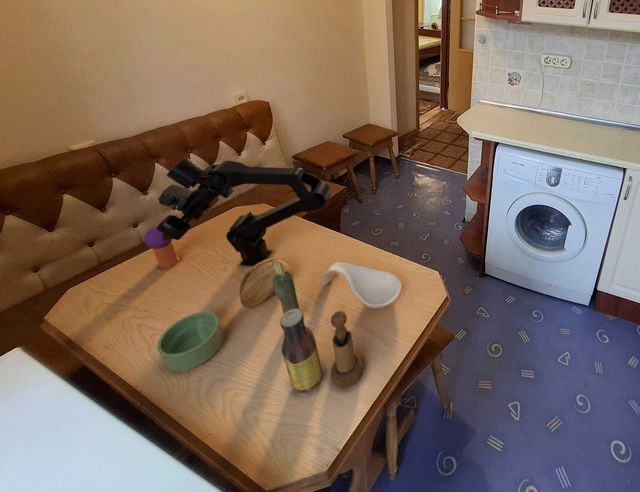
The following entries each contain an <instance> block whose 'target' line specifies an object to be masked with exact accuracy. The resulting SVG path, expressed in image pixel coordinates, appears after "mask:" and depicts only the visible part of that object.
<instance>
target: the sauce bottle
mask: <svg viewBox="0 0 640 492" xmlns="http://www.w3.org/2000/svg"><path fill="white" fill-rule="evenodd" d="M279 323H280V327H281V329H282V330H283V336H284V337H283V341H282V344H281V355H282V358H283V361H284V363H285V367H286V370H287V374H288V377H289V381H290V383H291V386H292V387H293V389H294V390H295V391H296V392H299V393H300V394H301V393H302V394H305V393H308V392H310V391H313V390H314V389H316V388H317V387H318V386H319V384H320V382H321V381H322V378H323V374H324V373H323V365H322V361H321V357H320V352H319V348H318V343H317V340H316V337H315V334H314V332H313V330H312V329H311V328H309V327H308V326H306V324H305V317H304V312H303V311H302V310H301V309H300V308H299V309H291V310H289V311H287V312H286V313H285V314H284V313H283V315H281V317H280V320H279Z"/></svg>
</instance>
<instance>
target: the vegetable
mask: <svg viewBox="0 0 640 492" xmlns="http://www.w3.org/2000/svg"><path fill="white" fill-rule="evenodd" d="M274 264H275V271H276V275H275V276H274V278H273V288H274V293H275V295H276V297H277V299H278V300H279V301H280V304H281V308H282V313H283V315H284V314H285V313H286V312H287V311H289V310H291V309H299V310H300V305H299V301H298V295H297V292H296V287H295V281H294V279H293V275H292V273H291V274H290V273H289V272H287V271H285V269H284V265H283V264H282V263H281V262H278V261H277V260H274V261H272V262H271V265H272V266H273V265H274Z"/></svg>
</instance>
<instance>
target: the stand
mask: <svg viewBox="0 0 640 492" xmlns="http://www.w3.org/2000/svg"><path fill="white" fill-rule="evenodd" d="M151 249H152V252H153V254H154V256H155V259H156V261H157V263H158V266H159V267H160V268H161V269H168V268H170V267H174V266H175V265H177V264H178V263H179V261H180V257H179V254H178V252H177V250H176V249H177V248H176V247H175V243H174V242H173V240H172V241H171V242H170V243H169V244H168V245H166V246H165V247H162V248H152V247H151Z"/></svg>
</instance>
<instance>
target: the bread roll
mask: <svg viewBox="0 0 640 492" xmlns="http://www.w3.org/2000/svg"><path fill="white" fill-rule="evenodd" d="M274 260H277V261H278V262H281V263H282V264H283V265H284V269H285V271H287V272H289V273H290V274H291V275H292V269H291V266H290V265H289V264H288V263H287V262H285V261H283V260H282V259H278V258H267V259H266V260H263V261H261V262H259V263H257V264H256V265H254V266H251V267H250V268H249V269H248V270H247V271H246V272H245V274H244V275H243V276H242V279H241V281H240V285H239V293H238V294H239V300H240V303H241V305H242V306H243V307H244V308H246V309H251V308H256V306H258V305H260V304H261V303H263V302H264V301H265V300H266V299H267V298H268V297H270V296H271V295H272V294H273V293H275V291H274V288H273V278H274V276H275V275H276V271H275V264H274V265H273V266H272V265H271V262H272V261H274Z"/></svg>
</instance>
